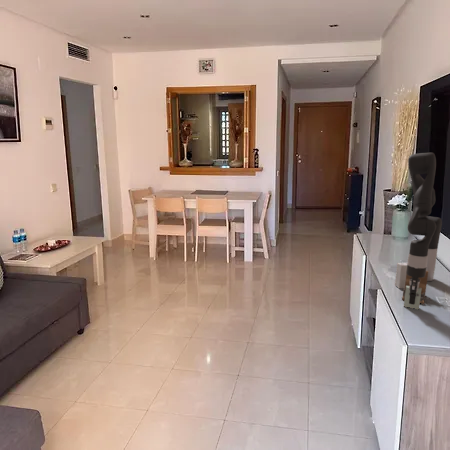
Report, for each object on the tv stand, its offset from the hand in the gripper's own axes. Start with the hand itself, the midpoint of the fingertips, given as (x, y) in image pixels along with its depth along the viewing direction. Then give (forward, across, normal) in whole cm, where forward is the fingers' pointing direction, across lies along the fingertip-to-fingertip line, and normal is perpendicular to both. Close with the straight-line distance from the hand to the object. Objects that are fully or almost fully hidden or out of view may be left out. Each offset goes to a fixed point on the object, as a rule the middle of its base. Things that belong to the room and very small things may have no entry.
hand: (412, 302), depth 178 cm
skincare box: (+2, -25, -6) cm, 26 cm away
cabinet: (+2, -13, 0) cm, 13 cm away
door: (+2, 0, 0) cm, 2 cm away
